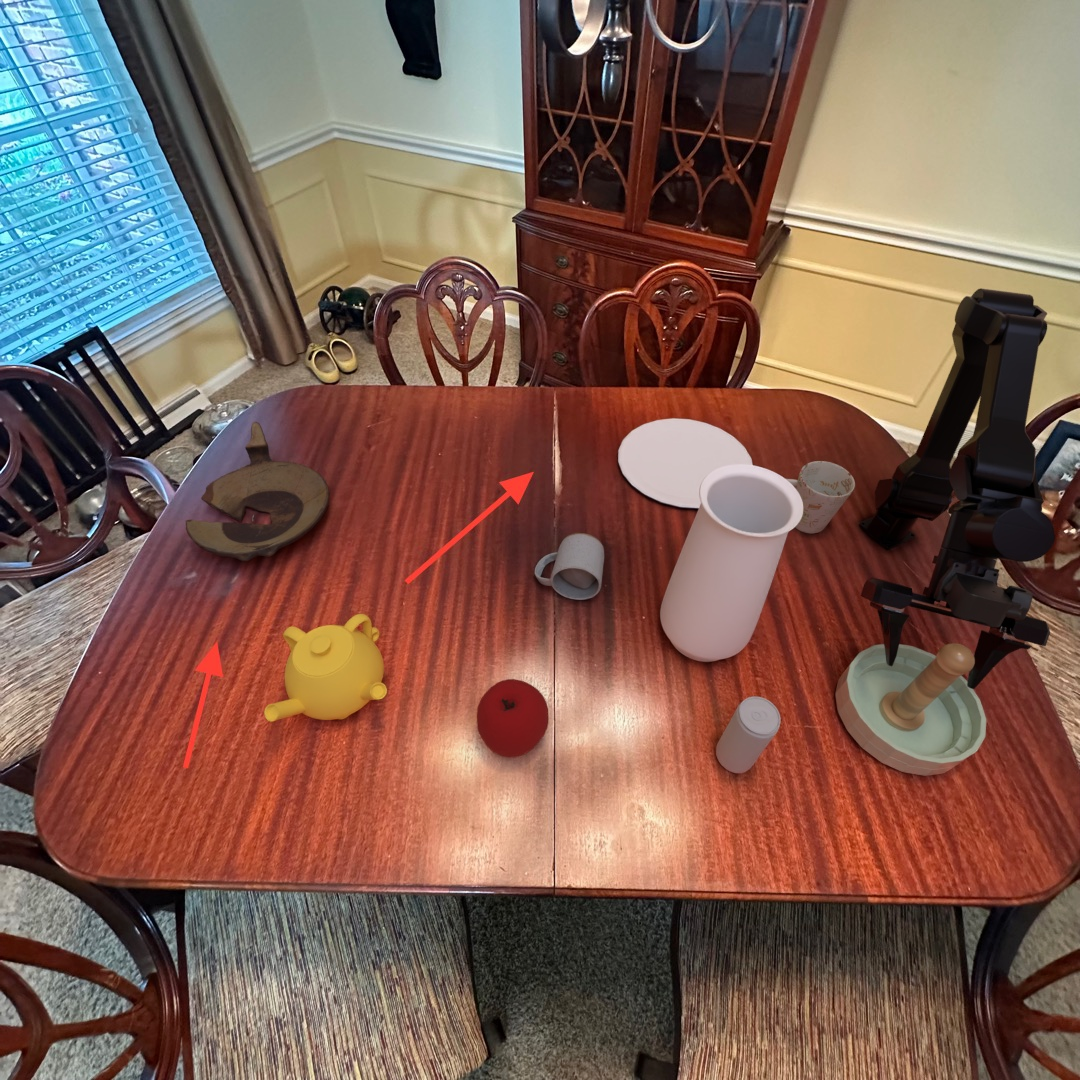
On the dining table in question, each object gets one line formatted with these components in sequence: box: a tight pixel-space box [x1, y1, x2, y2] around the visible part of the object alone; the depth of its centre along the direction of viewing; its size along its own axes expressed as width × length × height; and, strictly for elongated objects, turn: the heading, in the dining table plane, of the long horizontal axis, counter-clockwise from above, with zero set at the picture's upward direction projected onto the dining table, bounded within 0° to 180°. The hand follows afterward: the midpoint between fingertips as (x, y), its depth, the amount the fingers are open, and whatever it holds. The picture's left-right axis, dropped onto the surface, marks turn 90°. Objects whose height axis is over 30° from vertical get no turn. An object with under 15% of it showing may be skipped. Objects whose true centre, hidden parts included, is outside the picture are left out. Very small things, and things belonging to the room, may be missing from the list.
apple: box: [476, 678, 550, 758], centre depth 75 cm, size 9×9×10 cm
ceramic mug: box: [534, 532, 605, 601], centre depth 92 cm, size 11×8×8 cm
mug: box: [785, 460, 856, 534], centre depth 100 cm, size 8×13×10 cm, turn 78°
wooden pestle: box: [880, 642, 975, 732], centre depth 73 cm, size 5×5×16 cm
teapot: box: [263, 613, 388, 722], centre depth 78 cm, size 14×14×11 cm
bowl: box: [835, 643, 987, 777], centre depth 78 cm, size 16×16×5 cm
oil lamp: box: [185, 421, 330, 562], centre depth 102 cm, size 22×30×8 cm
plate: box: [617, 418, 754, 510], centre depth 112 cm, size 25×25×1 cm
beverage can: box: [715, 695, 782, 774], centre depth 72 cm, size 5×5×12 cm
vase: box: [659, 464, 803, 663], centre depth 78 cm, size 13×13×28 cm
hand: (929, 676), depth 74 cm, fingers open, 9 cm apart
